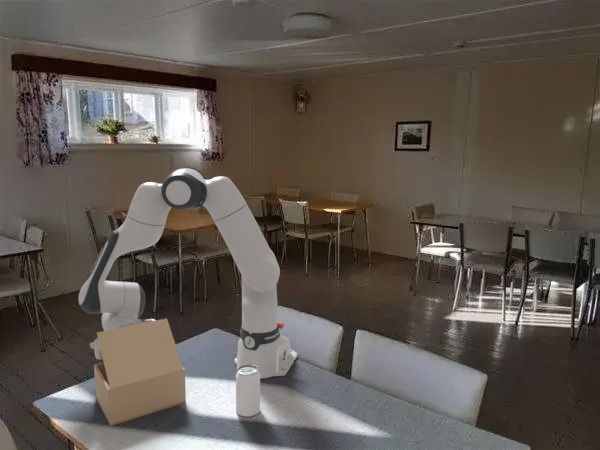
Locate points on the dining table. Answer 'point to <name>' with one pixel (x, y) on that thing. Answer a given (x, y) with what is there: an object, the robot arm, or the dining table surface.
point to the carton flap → (138, 352)
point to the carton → (138, 395)
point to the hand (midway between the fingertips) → (140, 352)
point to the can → (248, 391)
